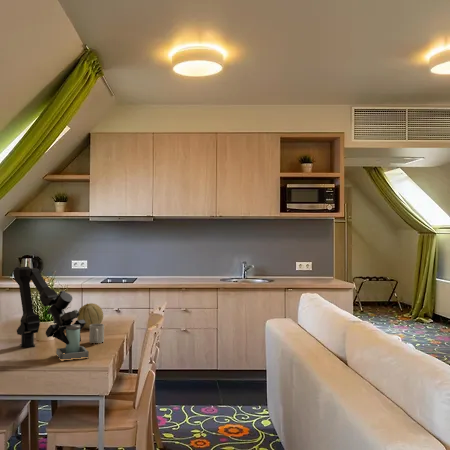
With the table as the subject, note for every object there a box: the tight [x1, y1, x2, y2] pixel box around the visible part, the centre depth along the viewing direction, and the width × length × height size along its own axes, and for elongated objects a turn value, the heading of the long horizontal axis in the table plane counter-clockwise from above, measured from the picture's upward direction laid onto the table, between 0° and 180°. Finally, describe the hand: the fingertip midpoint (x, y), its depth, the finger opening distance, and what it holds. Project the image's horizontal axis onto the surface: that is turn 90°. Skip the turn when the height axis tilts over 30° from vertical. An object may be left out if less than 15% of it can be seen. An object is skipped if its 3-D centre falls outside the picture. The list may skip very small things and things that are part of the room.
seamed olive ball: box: [76, 302, 104, 330], centre depth 283 cm, size 15×15×15 cm
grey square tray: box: [55, 345, 90, 359], centre depth 220 cm, size 12×12×3 cm
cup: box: [88, 323, 105, 344], centre depth 247 cm, size 7×10×9 cm
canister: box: [65, 325, 81, 354], centre depth 220 cm, size 6×6×14 cm
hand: (74, 342), depth 220 cm, fingers closed on canister, 6 cm apart
